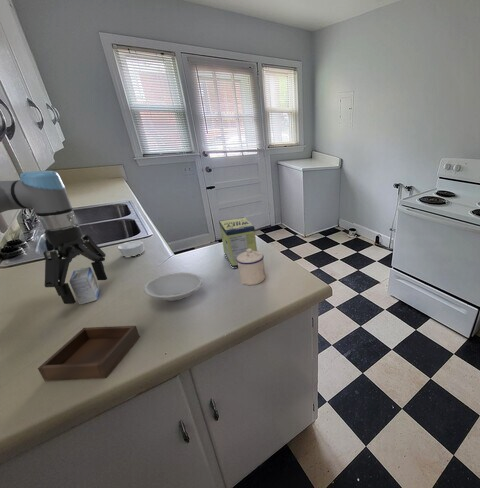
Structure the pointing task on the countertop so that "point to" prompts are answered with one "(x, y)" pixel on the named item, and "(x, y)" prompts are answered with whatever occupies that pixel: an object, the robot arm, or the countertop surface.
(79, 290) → the medicine box
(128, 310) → the countertop surface
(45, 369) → the holder
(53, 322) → the countertop surface
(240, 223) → the protein box
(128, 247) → the ramekin
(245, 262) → the teacup with lid
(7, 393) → the countertop surface
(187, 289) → the dish
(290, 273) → the countertop surface
